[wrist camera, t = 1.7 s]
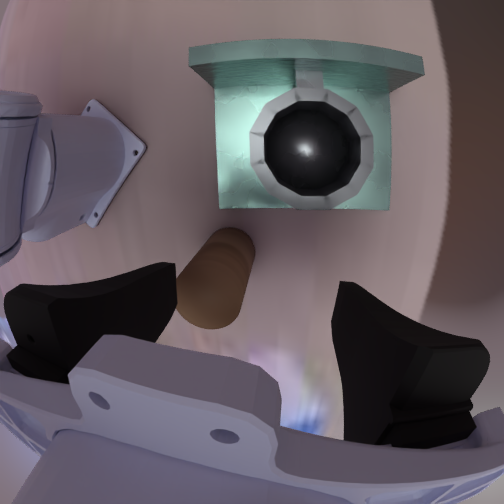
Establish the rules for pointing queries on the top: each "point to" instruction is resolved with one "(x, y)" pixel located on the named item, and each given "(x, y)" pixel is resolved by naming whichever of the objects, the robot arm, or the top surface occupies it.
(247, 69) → the cup bracket
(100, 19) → the top surface
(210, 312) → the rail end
